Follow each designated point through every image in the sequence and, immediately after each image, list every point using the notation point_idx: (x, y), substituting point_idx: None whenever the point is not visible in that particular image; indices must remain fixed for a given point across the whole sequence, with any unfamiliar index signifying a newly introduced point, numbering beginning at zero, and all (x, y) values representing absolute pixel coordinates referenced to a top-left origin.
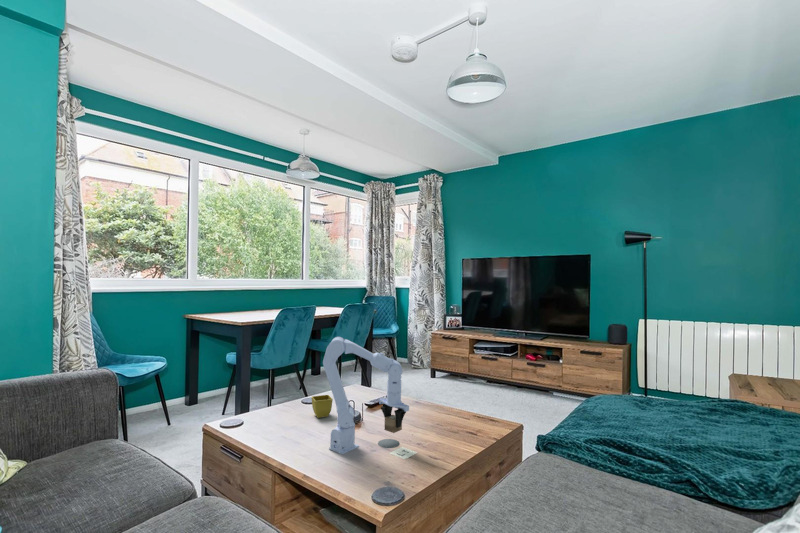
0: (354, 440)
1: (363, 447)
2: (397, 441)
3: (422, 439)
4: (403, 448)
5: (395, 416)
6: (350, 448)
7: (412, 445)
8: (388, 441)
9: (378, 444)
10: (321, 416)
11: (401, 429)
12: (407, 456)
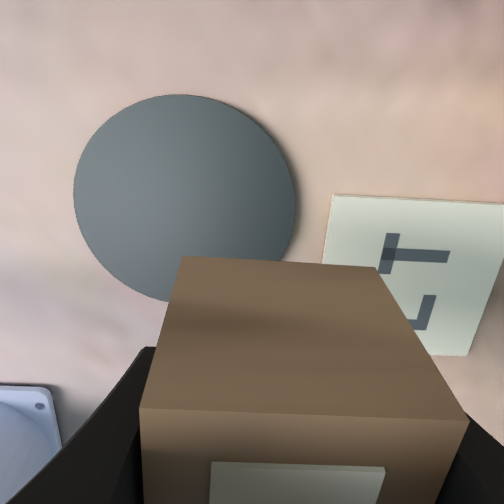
0: (9, 460)
1: (75, 369)
2: (227, 118)
3: None
4: (368, 216)
5: (304, 480)
6: (49, 457)
7: (406, 77)
8: (154, 180)
9: (133, 287)
10: None
11: (374, 275)
12: (466, 314)
